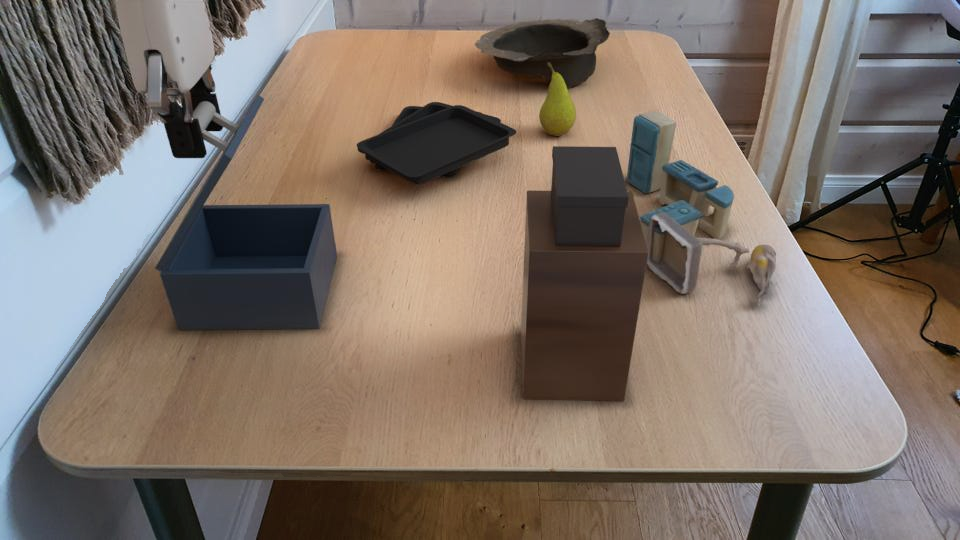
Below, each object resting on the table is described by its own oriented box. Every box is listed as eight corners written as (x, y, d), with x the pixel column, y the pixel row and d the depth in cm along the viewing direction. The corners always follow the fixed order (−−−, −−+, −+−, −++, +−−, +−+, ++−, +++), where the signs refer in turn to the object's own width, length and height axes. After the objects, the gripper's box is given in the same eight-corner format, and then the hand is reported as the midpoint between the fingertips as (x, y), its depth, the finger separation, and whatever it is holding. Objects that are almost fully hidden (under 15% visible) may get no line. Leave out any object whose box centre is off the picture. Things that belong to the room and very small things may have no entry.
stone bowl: (622, 95, 131) (624, 44, 125) (482, 110, 130) (478, 59, 125) (595, 44, 150) (596, -2, 144) (474, 57, 150) (470, 11, 144)
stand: (624, 401, 72) (648, 252, 62) (522, 399, 73) (529, 250, 62) (612, 333, 80) (632, 191, 70) (521, 332, 81) (526, 190, 70)
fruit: (581, 137, 118) (587, 65, 111) (550, 145, 116) (554, 72, 109) (561, 123, 122) (566, 53, 115) (531, 131, 120) (534, 59, 113)
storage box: (337, 256, 92) (329, 203, 87) (319, 328, 81) (309, 272, 77) (212, 258, 92) (198, 205, 87) (178, 330, 81) (159, 274, 76)
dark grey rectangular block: (622, 247, 62) (629, 196, 59) (554, 246, 62) (558, 195, 59) (610, 194, 69) (616, 146, 66) (549, 193, 69) (552, 146, 66)
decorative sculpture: (768, 257, 91) (783, 208, 87) (797, 308, 84) (815, 256, 79) (640, 259, 91) (648, 209, 87) (657, 310, 83) (667, 259, 79)
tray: (378, 115, 125) (375, 86, 122) (515, 116, 124) (515, 87, 121) (346, 209, 101) (342, 176, 98) (515, 211, 100) (516, 178, 97)
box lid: (264, 98, 79) (219, 70, 77) (232, 158, 68) (179, 128, 67) (200, 203, 87) (158, 180, 85) (161, 272, 76) (112, 248, 74)
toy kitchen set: (565, 202, 102) (571, 132, 96) (644, 175, 108) (654, 108, 102) (653, 267, 90) (666, 193, 84) (737, 233, 96) (755, 161, 90)
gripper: (144, -68, 71) (189, 108, 82) (64, -17, 57) (131, 185, 68) (221, -68, 71) (256, 107, 82) (160, -18, 57) (212, 185, 68)
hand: (199, 141), depth 75 cm, fingers closed on box lid, 5 cm apart
